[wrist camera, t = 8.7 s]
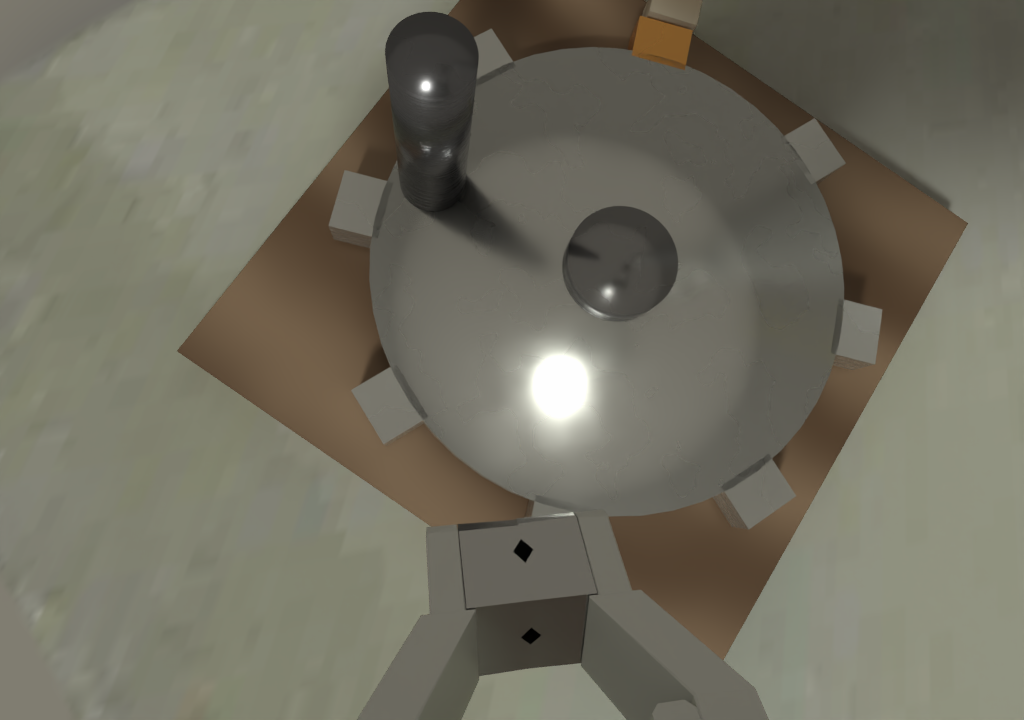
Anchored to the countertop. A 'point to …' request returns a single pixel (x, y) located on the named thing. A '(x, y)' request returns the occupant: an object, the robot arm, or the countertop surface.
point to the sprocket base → (452, 484)
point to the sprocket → (599, 273)
